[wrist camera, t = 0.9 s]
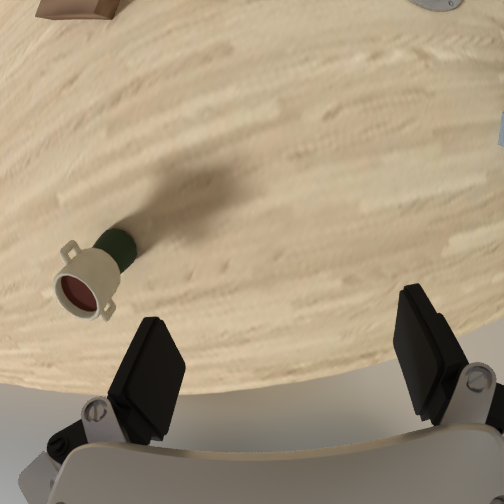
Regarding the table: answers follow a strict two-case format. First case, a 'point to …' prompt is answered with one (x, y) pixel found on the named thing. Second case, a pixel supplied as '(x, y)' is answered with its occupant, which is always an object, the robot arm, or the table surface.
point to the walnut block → (77, 9)
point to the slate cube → (501, 132)
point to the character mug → (93, 275)
